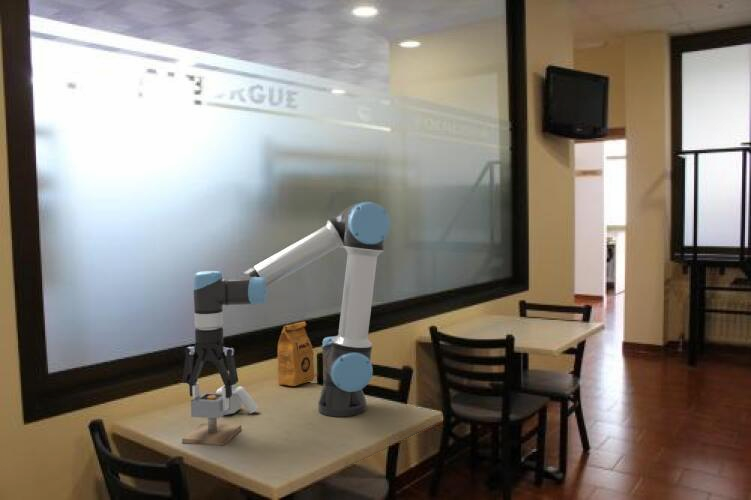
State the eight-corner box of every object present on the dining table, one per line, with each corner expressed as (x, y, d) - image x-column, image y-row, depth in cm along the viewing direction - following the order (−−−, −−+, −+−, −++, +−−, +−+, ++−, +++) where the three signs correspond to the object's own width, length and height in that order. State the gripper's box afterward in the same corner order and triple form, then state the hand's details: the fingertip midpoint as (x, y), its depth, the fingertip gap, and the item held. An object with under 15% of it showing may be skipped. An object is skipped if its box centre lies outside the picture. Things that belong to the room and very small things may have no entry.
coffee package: (318, 381, 226) (317, 321, 225) (293, 389, 216) (292, 327, 215) (299, 377, 232) (297, 319, 231) (274, 385, 223) (272, 324, 221)
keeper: (241, 429, 177) (240, 390, 177) (224, 445, 166) (222, 403, 165) (201, 427, 179) (200, 389, 179) (182, 443, 168) (180, 402, 167)
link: (230, 409, 175) (230, 393, 175) (219, 418, 168) (218, 401, 167) (204, 407, 177) (203, 392, 177) (191, 416, 169) (190, 400, 169)
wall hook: (254, 416, 187) (245, 384, 187) (223, 422, 189) (215, 390, 189) (264, 407, 195) (256, 377, 195) (234, 414, 197) (226, 383, 197)
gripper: (249, 325, 173) (251, 405, 174) (180, 324, 176) (182, 402, 177) (239, 330, 165) (241, 414, 167) (167, 329, 169) (169, 411, 170)
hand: (211, 408), depth 172 cm, fingers closed on link, 8 cm apart
